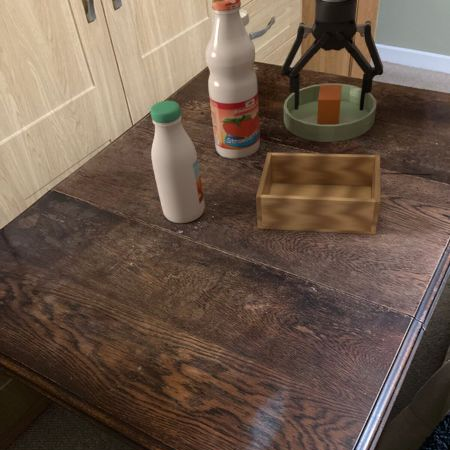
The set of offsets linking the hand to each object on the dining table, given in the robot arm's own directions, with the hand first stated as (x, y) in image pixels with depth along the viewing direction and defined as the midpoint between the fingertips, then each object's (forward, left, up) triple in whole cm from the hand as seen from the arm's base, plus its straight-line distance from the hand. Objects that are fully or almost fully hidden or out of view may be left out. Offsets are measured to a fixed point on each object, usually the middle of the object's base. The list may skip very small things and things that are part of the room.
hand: (328, 107), depth 106 cm
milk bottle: (+24, +34, -3) cm, 42 cm away
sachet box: (0, 0, -3) cm, 3 cm away
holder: (0, +31, -3) cm, 31 cm away
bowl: (0, 0, -3) cm, 3 cm away
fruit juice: (+18, +12, -3) cm, 22 cm away
